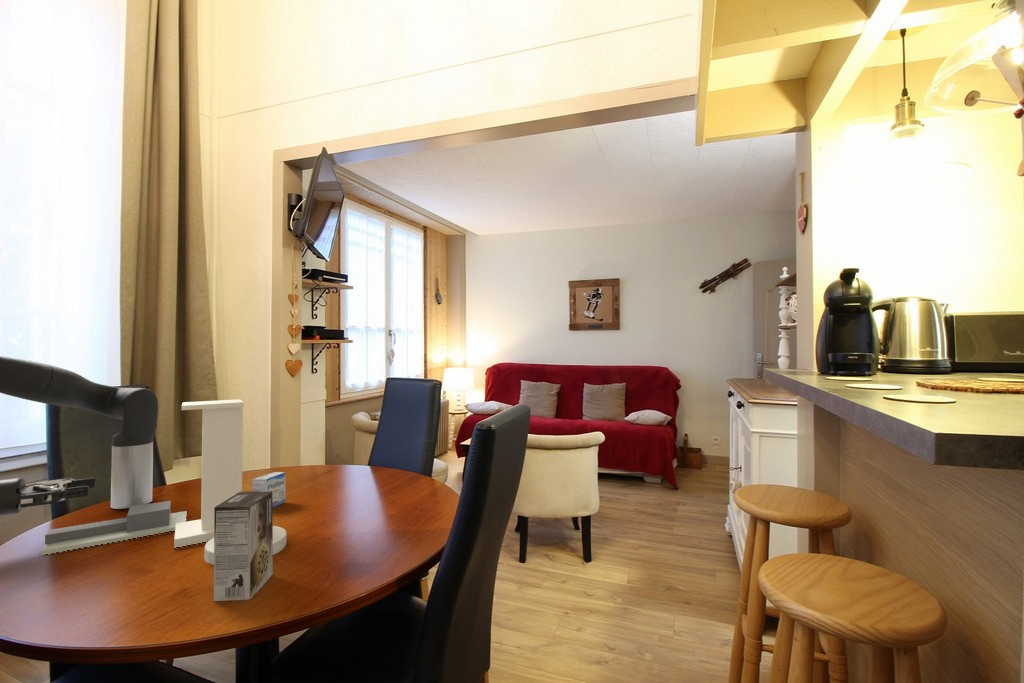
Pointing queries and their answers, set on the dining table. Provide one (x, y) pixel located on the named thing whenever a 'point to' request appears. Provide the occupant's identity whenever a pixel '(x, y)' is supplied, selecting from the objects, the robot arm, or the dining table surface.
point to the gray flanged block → (116, 523)
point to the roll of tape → (278, 544)
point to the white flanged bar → (215, 465)
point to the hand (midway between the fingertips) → (92, 486)
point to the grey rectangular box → (243, 545)
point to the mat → (113, 536)
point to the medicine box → (272, 486)
